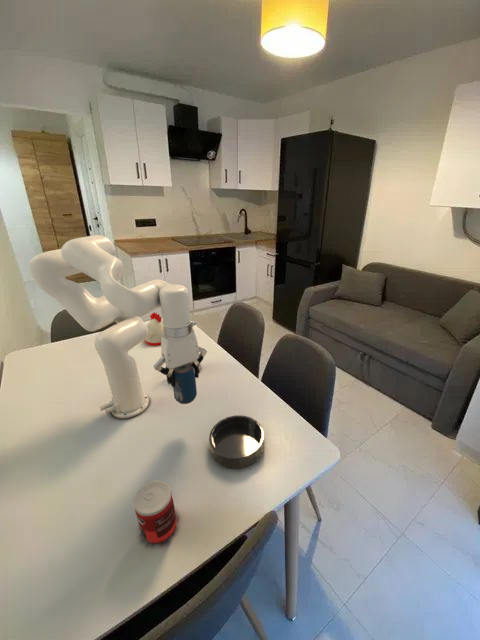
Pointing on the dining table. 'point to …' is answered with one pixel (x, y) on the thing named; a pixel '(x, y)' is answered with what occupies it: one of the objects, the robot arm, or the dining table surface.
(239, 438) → the bowl
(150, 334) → the kitchen timer
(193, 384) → the soda can
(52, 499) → the dining table surface
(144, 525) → the canned food
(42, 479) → the dining table surface
